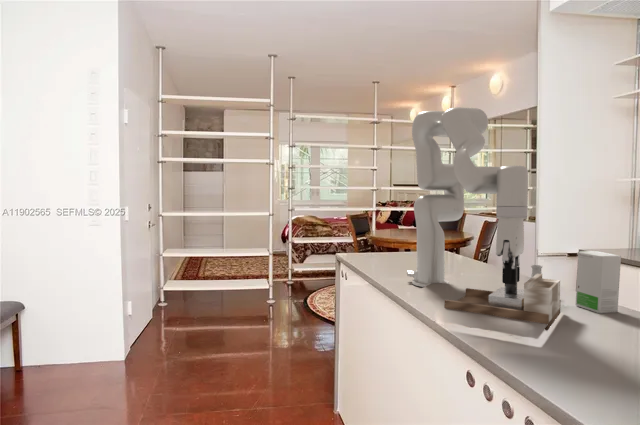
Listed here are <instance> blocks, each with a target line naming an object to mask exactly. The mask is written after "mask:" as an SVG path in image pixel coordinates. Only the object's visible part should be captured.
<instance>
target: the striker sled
mask: <svg viewBox="0 0 640 425" xmlns="http://www.w3.org/2000/svg"><path fill="white" fill-rule="evenodd" d="M510 260H511V261H512V259H510ZM517 267H518V266H517V259H515V269H516V284H505V283H504V286H501V287H499V288H498V289H496V290H494V292H493V293H491V294H490V295H489V305H488V306H495V307H502V308H509V309H516V310H523V311H524V289H521V288H518V282H517Z"/></svg>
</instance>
